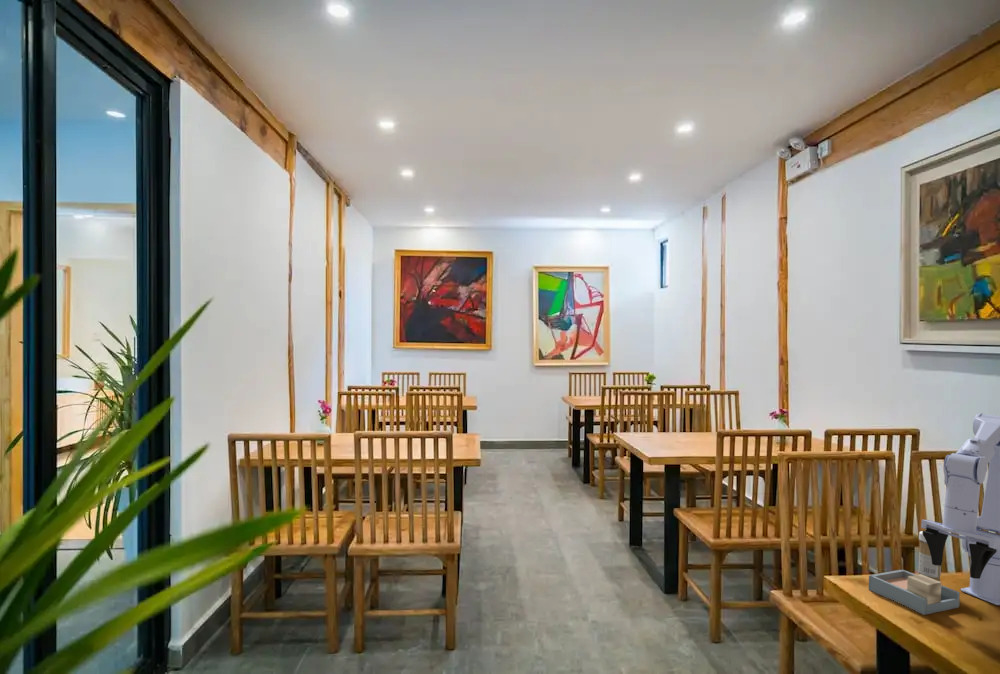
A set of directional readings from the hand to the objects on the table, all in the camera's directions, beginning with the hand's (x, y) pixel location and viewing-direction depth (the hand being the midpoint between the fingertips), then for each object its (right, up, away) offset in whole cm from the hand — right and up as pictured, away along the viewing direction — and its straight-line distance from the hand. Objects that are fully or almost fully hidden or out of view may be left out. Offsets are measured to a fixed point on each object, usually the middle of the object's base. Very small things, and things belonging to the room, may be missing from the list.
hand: (955, 571), depth 123 cm
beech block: (-2, -9, +6) cm, 11 cm away
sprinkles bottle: (+7, -11, +17) cm, 22 cm away
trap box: (-1, -11, +11) cm, 15 cm away
